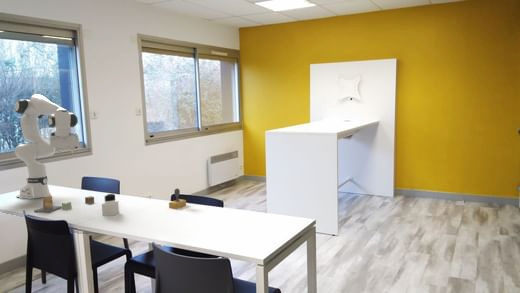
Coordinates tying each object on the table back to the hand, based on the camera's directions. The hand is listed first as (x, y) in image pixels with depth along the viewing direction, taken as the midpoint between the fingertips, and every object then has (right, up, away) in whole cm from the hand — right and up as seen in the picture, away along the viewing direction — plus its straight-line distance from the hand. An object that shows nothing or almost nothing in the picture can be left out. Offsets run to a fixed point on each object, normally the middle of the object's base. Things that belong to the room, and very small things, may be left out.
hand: (65, 153), depth 268 cm
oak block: (-3, -34, -16) cm, 38 cm away
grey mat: (-3, -35, -16) cm, 39 cm away
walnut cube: (+16, -33, 0) cm, 37 cm away
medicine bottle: (+41, -36, -28) cm, 61 cm away
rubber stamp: (+78, -34, -15) cm, 87 cm away
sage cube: (+7, -35, -13) cm, 38 cm away
